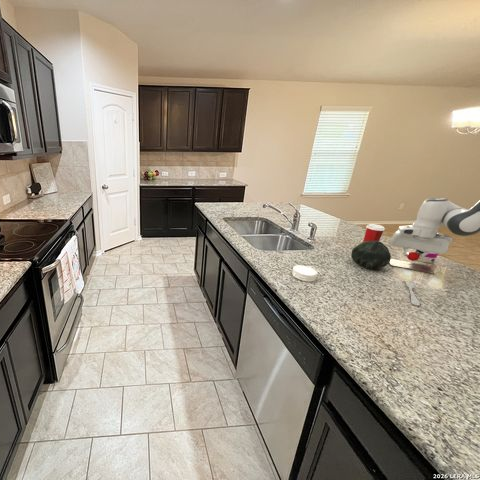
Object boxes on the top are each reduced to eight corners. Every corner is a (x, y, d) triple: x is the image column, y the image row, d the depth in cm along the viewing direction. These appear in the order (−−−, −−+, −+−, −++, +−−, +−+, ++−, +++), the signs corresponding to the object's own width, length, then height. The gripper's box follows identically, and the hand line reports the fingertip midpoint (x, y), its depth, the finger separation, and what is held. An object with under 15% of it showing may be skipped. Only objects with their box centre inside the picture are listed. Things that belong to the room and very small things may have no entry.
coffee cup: (374, 248, 148) (382, 224, 143) (378, 254, 141) (387, 229, 136) (357, 246, 152) (364, 222, 146) (360, 251, 145) (368, 226, 139)
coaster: (319, 283, 112) (321, 276, 110) (295, 280, 114) (296, 273, 112) (311, 272, 121) (313, 266, 120) (289, 270, 123) (290, 263, 121)
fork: (408, 308, 99) (411, 303, 98) (402, 281, 114) (404, 276, 113) (418, 311, 97) (421, 305, 96) (410, 283, 112) (413, 278, 111)
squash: (361, 246, 137) (360, 231, 127) (395, 257, 126) (398, 241, 116) (346, 266, 135) (345, 252, 125) (380, 279, 124) (382, 265, 114)
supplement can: (436, 261, 134) (448, 234, 128) (431, 264, 130) (443, 237, 124) (415, 255, 140) (426, 230, 135) (410, 258, 136) (421, 232, 131)
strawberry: (416, 259, 128) (419, 251, 126) (418, 263, 125) (421, 254, 123) (404, 257, 130) (407, 249, 129) (406, 260, 127) (409, 252, 125)
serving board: (428, 266, 128) (428, 265, 128) (433, 274, 120) (434, 273, 120) (387, 258, 136) (387, 257, 136) (390, 265, 128) (390, 264, 128)
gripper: (451, 233, 119) (439, 260, 124) (395, 225, 129) (385, 250, 134) (456, 237, 114) (443, 265, 119) (397, 229, 124) (387, 254, 129)
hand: (412, 257), depth 127 cm, fingers closed on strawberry, 4 cm apart
